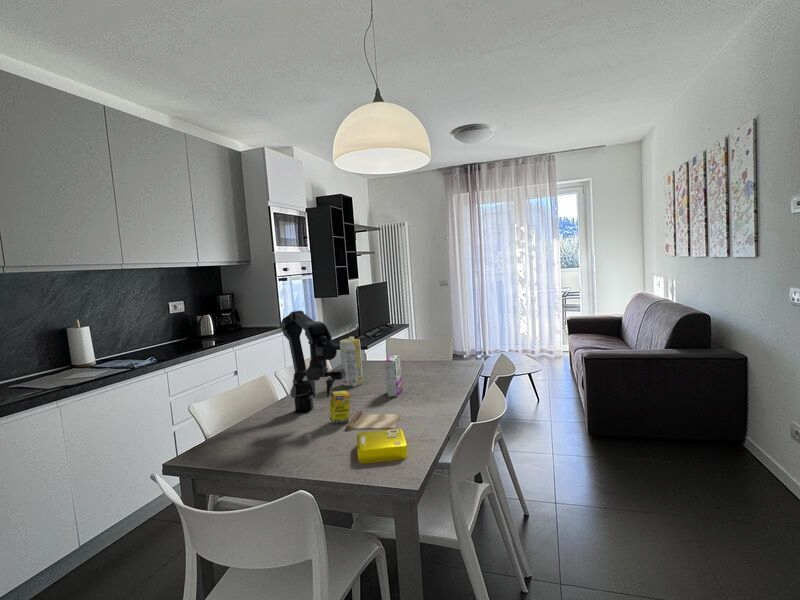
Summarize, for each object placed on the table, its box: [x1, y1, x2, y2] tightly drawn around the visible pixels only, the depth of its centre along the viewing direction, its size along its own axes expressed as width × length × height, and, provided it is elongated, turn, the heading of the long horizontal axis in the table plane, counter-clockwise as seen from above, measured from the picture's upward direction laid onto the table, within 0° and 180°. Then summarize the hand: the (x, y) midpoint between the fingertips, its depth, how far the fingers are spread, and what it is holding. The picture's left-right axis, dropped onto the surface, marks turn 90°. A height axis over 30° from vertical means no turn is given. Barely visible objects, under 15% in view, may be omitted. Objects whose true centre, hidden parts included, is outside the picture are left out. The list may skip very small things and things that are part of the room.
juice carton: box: [339, 336, 364, 387], centre depth 216 cm, size 9×8×24 cm
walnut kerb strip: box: [345, 410, 363, 431], centre depth 163 cm, size 2×16×2 cm, turn 171°
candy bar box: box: [384, 354, 403, 398], centre depth 196 cm, size 11×5×16 cm, turn 168°
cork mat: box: [352, 413, 401, 430], centre depth 162 cm, size 16×14×1 cm
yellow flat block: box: [356, 428, 408, 464], centre depth 136 cm, size 15×15×5 cm
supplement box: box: [329, 390, 351, 425], centre depth 164 cm, size 6×6×11 cm
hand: (321, 396), depth 164 cm, fingers open, 5 cm apart
